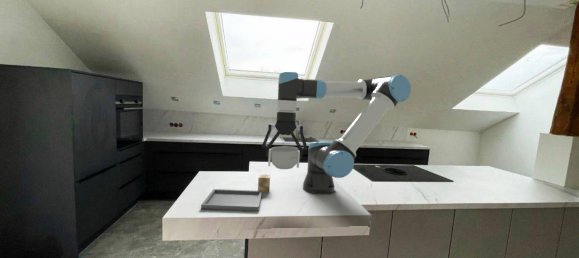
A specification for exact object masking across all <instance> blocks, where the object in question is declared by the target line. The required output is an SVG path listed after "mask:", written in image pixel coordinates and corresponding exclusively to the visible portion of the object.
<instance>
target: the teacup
mask: <svg viewBox="0 0 579 258" xmlns="http://www.w3.org/2000/svg"><path fill="white" fill-rule="evenodd" d="M270 149H271V160H270V161H271V164H272V166H274V167H275V168H276V169H279V170H290V169H291V170H292V169H293V168H294V167H295V166H297V161H298V150H299V148H298V147H296V146H291V145H290V146H288V145H282V146H280V145H279V146H273V147H270Z"/></svg>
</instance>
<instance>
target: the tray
mask: <svg viewBox="0 0 579 258" xmlns="http://www.w3.org/2000/svg"><path fill="white" fill-rule="evenodd" d="M262 196H263V193H262V191H258V190H254V189H251V190H250V189H249V190H247V189H246V190H245V189H226V188H225V189H224V188H223V189H222V188H213V189H212V191H211V192H210V193H209V194H208V196H207V197H206V198H205V200H203V202H202V203H201V205H200V211H201V210H204V211H207V210H208V211H209V210H210V211H228V212H229V211H231V212H235V211H236V212H259V211H260V206H261V201H262Z"/></svg>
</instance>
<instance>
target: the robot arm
mask: <svg viewBox="0 0 579 258" xmlns="http://www.w3.org/2000/svg"><path fill="white" fill-rule="evenodd" d="M277 88H278V89H277V91H278V92H277V103H276V104H277V107H276V110H277V112H276V122H275V124H274V123H268V125H267V126H268V127H267V129H268V130H267V131H266V134H265V137H264V139H263V142H262V144H261V148H262V149H265V157H266V158H267V161H268V163H267V164H268V165H267V167H271V161H272V160H271V148H272V146H273V144H274V143H275V141H276V140H277V138H279V136H280V135H281V136H291V137H292V139H293V141H294V143H295V144H296V146H297V148H298V161H297V164H296V168H297V169H298V168H300V160H302V159H303V152H304V151H307V150H308V153H307V154H308V155H307V157H308V158H307V172H306V175H305V178H304V181H303V183H302V188H303V190H304V191H306V192H308V193H311V194H316V195H318V194H319V195H327V194H333V193H334V192H335V183H334V182H335V181H334V178H336V179H343V178H344V177H347V176H348V175H349V174H351V172H352V171H353V169H354V167H355V165H354V163H355V159H356V157H357V153H356V152H357V150H358V149H359V147H360V146H361V145H362V144H363V143H364V142H365V140H366V139H367V137H368V136H369V135H370V134H371V132H372V131H373V130H374V129H375V127H376V126H377V125H378V123H379V122H380V121H381V119H383V117H384V115H386V113H387V112H388V111H392V110H394V108H396V106H398V104H399V103H403V102H405V101H407V100H408V99H409V98H410V96H411V93H412V88H411V81H410V80H409V79H408V78H407V76H405V75H403V74H392V75H385V76H378V77H372V78H368V79H359V80H358V81H324V80H320V79H310V78H300V77H299V73H298V72H296V71H289V70H288V71H285V70H284V71H281V72H280V73H279V75H278V87H277ZM328 98H329V99H335V98H336V99H341V98H343V99H344V98H345V99H346V98H347V99H349V98H350V99H351V98H352V99H353V98H357V99H358V100H359V101H360V100H367V101H369V102H368V103H367V104H366V105H365V106H364V108H363V109H362V111H361V112H360V113H359V114H358V115H357V117H356V118H355V119H354V120H353V122H352V123H351V124H350V125H349V126H348V128H347V129H346V131H344V133H343V134H342V135H341V137H340V138H338V139H334V140H333V141H311V142H310V143H308V145H307V143H306V138H305V134H304V126H303V125H297V123H296V121H297V120H296V116H297V113H296V111H297V99H298V100H299V99H300V100H301V99H319V100H320V99H328ZM274 128H275V129H276V133H275V134H274V135H273V137H272V139H271V140H270V141H269V142H268V140H269V137H270V134H271V132H272V130H274ZM295 130H297V131H299V134H300V135H299V136H300V138H301V143H302V146H301V143H300V142H299V139H298V138H297V137H296V134H295V133H294V131H295ZM267 142H268V144H267Z"/></svg>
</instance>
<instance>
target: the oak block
mask: <svg viewBox="0 0 579 258" xmlns="http://www.w3.org/2000/svg"><path fill="white" fill-rule="evenodd" d="M257 182H258V183H257V191H262V194H270V188H271V185H270V184H271V174H259V175H258V179H257Z"/></svg>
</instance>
